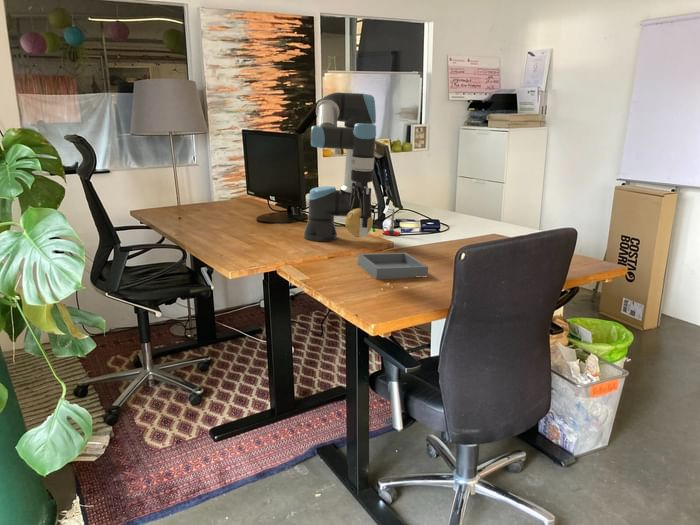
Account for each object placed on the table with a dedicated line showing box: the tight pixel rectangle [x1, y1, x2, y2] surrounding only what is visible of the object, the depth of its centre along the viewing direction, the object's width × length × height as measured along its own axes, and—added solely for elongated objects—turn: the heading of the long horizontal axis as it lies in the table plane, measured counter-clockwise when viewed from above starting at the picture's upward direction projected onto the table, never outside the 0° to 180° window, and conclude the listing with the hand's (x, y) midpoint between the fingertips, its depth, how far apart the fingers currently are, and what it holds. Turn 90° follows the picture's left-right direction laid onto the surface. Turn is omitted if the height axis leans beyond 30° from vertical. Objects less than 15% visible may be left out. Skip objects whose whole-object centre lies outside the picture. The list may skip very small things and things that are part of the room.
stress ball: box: [344, 208, 374, 238], centre depth 194 cm, size 10×10×10 cm
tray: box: [357, 252, 429, 280], centre depth 206 cm, size 20×20×4 cm
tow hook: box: [383, 208, 401, 237], centre depth 268 cm, size 8×13×9 cm
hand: (358, 232), depth 195 cm, fingers closed on stress ball, 10 cm apart
